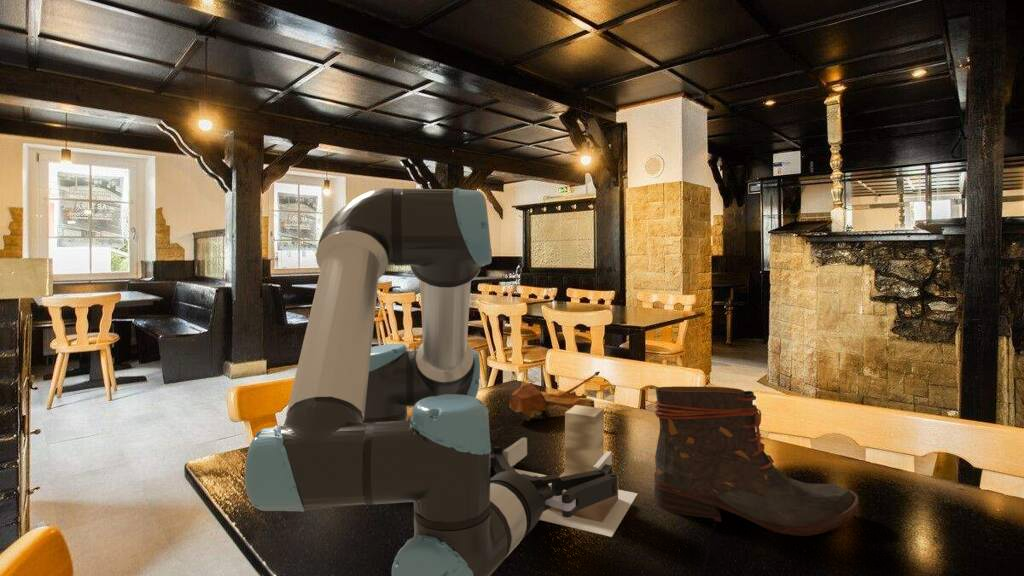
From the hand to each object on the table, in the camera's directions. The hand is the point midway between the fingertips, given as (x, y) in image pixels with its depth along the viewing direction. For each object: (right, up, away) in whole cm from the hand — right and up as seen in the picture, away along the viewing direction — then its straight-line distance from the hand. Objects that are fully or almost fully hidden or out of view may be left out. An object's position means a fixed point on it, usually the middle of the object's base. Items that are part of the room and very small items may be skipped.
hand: (565, 452), depth 80 cm
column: (+4, -7, +8) cm, 12 cm away
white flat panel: (-1, -12, +11) cm, 16 cm away
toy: (+5, -9, +61) cm, 62 cm away
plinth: (+4, -11, +9) cm, 15 cm away
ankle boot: (+31, -12, +6) cm, 34 cm away
